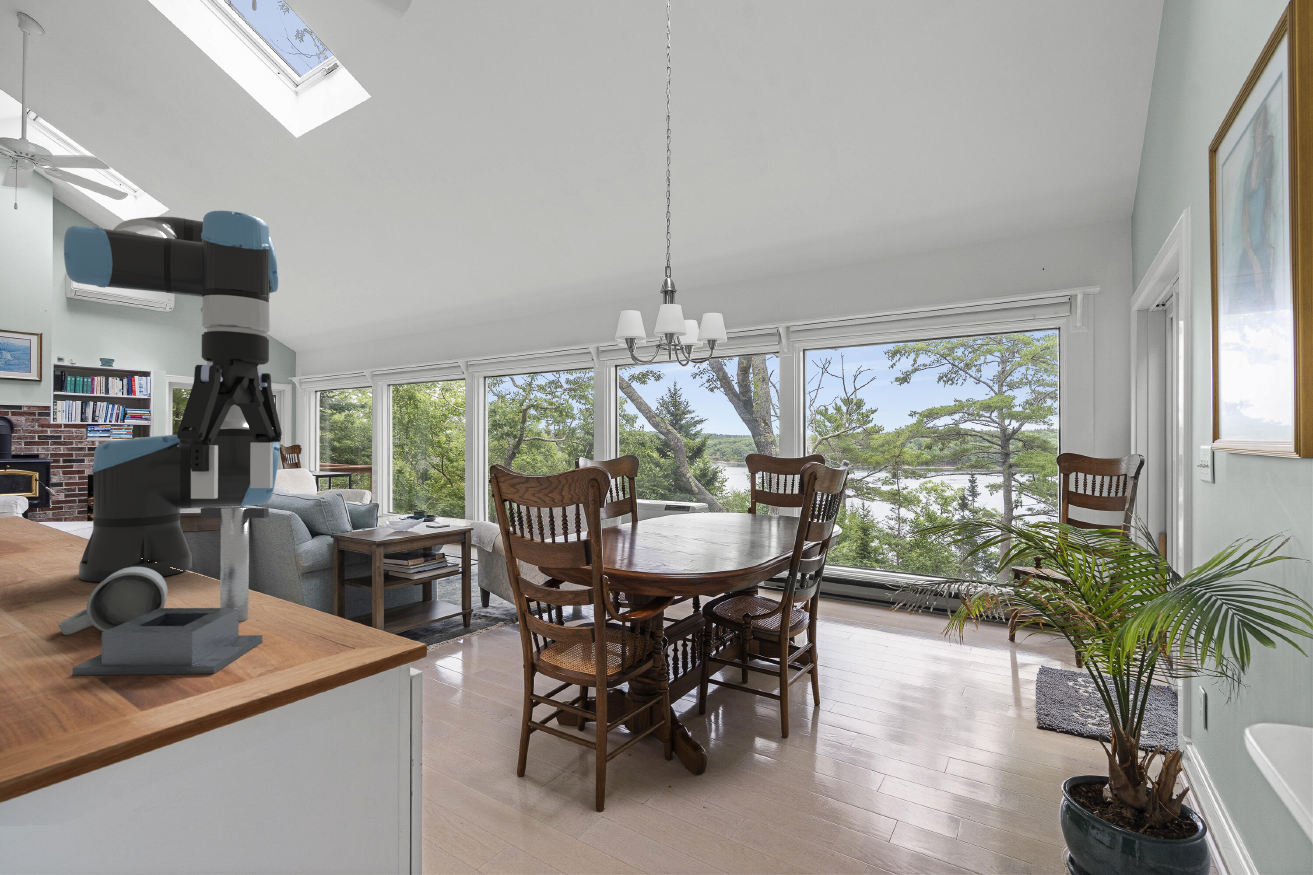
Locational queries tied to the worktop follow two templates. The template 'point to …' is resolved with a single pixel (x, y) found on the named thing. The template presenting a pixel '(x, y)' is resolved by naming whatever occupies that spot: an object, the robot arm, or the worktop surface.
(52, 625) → the worktop surface
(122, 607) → the ceramic mug
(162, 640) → the chuck block
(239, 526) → the t key
